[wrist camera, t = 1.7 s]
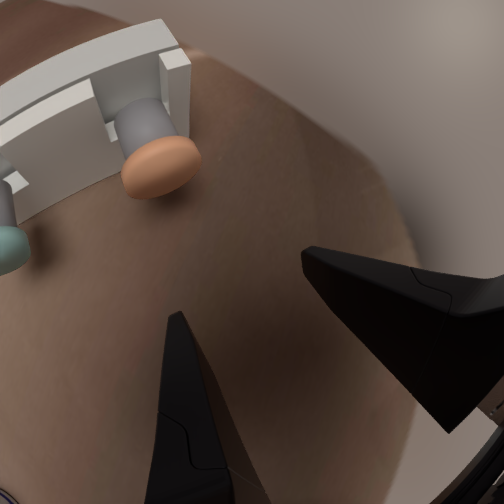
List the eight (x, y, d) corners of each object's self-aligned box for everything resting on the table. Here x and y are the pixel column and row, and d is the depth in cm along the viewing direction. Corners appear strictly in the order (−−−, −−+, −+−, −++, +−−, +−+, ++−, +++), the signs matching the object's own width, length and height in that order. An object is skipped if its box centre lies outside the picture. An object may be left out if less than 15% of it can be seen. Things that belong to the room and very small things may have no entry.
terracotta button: (200, 179, 19) (203, 138, 15) (133, 208, 18) (117, 172, 13) (174, 126, 20) (172, 81, 15) (113, 150, 19) (97, 108, 14)
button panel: (189, 143, 25) (191, 63, 16) (-1, 236, 20) (-64, 196, 10) (164, 94, 26) (161, 18, 17) (-7, 177, 21) (-56, 128, 11)
